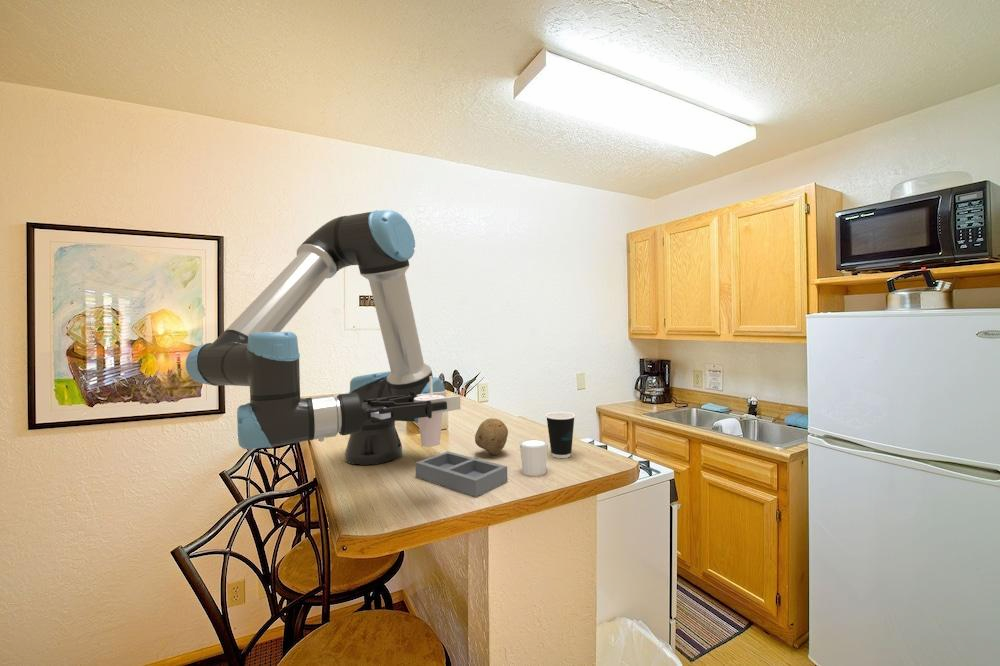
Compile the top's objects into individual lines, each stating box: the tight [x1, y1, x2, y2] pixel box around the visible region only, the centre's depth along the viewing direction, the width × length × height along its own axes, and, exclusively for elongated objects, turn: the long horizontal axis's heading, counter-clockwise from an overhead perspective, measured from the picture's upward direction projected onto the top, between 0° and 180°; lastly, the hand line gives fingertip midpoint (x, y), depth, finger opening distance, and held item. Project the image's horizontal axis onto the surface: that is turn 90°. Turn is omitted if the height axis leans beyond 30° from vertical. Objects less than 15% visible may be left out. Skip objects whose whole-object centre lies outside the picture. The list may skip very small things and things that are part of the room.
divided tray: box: [414, 451, 508, 498], centre depth 95 cm, size 20×10×4 cm, turn 50°
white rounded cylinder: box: [519, 439, 549, 477], centre depth 99 cm, size 7×7×7 cm
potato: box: [474, 417, 509, 456], centre depth 113 cm, size 9×9×10 cm
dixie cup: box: [545, 411, 576, 459], centre depth 110 cm, size 8×8×11 cm
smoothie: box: [414, 376, 444, 448], centre depth 85 cm, size 6×6×14 cm
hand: (451, 400), depth 87 cm, fingers closed on smoothie, 6 cm apart
